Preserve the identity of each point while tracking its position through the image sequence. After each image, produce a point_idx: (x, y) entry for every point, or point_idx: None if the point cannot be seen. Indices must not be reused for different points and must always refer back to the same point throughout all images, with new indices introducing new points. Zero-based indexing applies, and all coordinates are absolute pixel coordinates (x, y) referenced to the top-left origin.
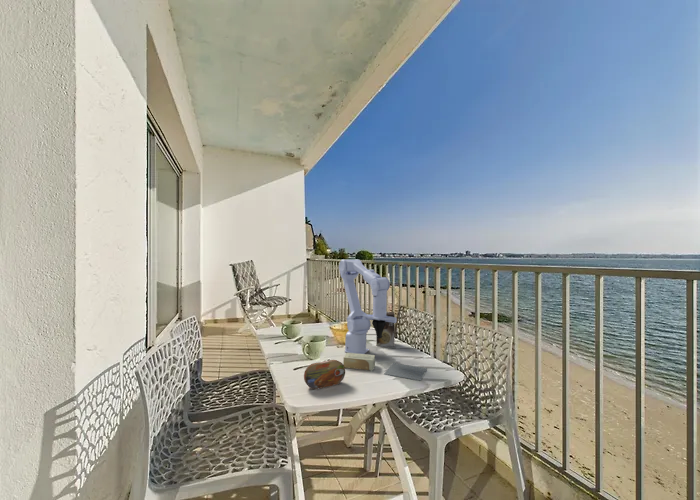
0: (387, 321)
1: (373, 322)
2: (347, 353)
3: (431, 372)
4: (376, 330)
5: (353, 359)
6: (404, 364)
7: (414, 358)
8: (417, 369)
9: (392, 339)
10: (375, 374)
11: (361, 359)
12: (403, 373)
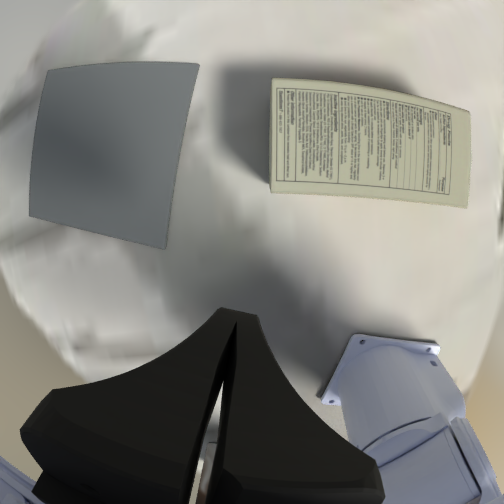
0: (5, 465)
1: (348, 499)
2: (463, 190)
3: (18, 181)
4: (259, 368)
5: (412, 96)
6: (107, 235)
7: (93, 333)
8: (53, 184)
9: (211, 467)
10: (248, 51)
11: (360, 85)
12: (102, 105)
